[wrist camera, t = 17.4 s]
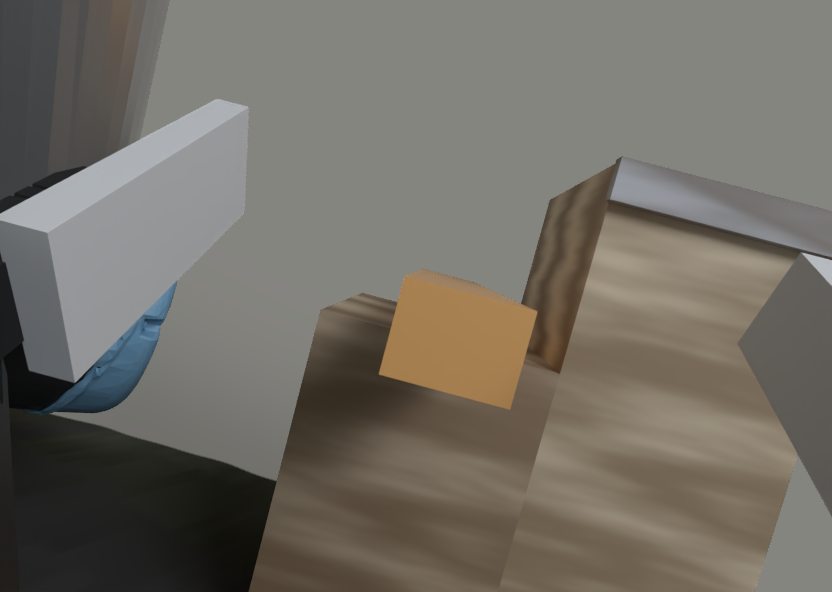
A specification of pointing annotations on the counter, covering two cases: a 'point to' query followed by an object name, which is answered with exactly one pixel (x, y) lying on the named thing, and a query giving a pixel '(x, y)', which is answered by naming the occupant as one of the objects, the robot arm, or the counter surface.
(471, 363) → the orange box
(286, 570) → the wooden stepped block
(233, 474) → the counter surface
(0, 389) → the robot arm
